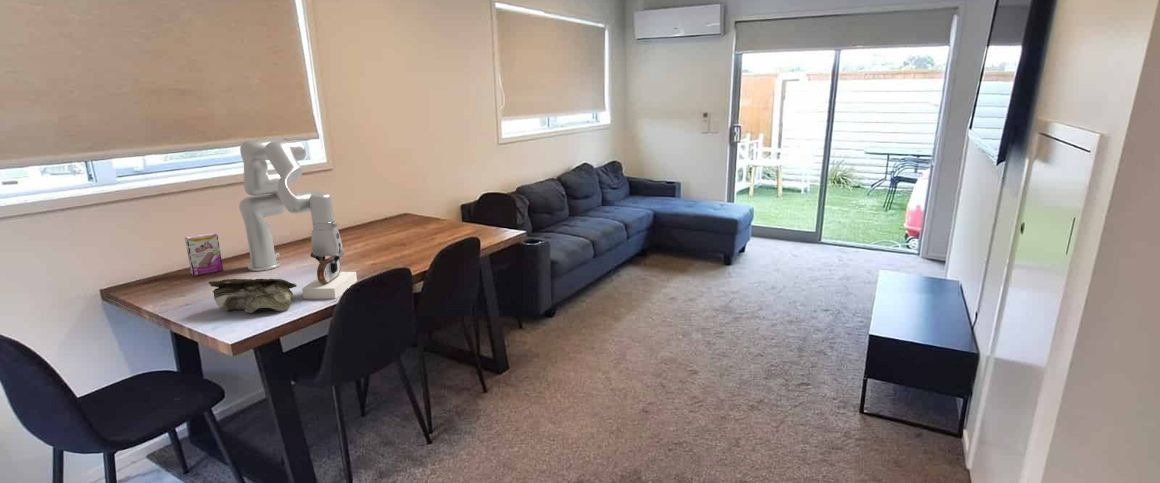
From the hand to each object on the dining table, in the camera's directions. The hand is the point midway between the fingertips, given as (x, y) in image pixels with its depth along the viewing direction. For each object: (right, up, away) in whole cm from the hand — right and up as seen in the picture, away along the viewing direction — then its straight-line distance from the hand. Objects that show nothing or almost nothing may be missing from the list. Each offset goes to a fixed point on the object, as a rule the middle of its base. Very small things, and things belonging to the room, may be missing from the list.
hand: (330, 271), depth 213 cm
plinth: (0, -7, +2) cm, 7 cm away
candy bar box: (-63, -2, +23) cm, 67 cm away
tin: (0, -3, +1) cm, 3 cm away
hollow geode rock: (-19, -12, -17) cm, 28 cm away
